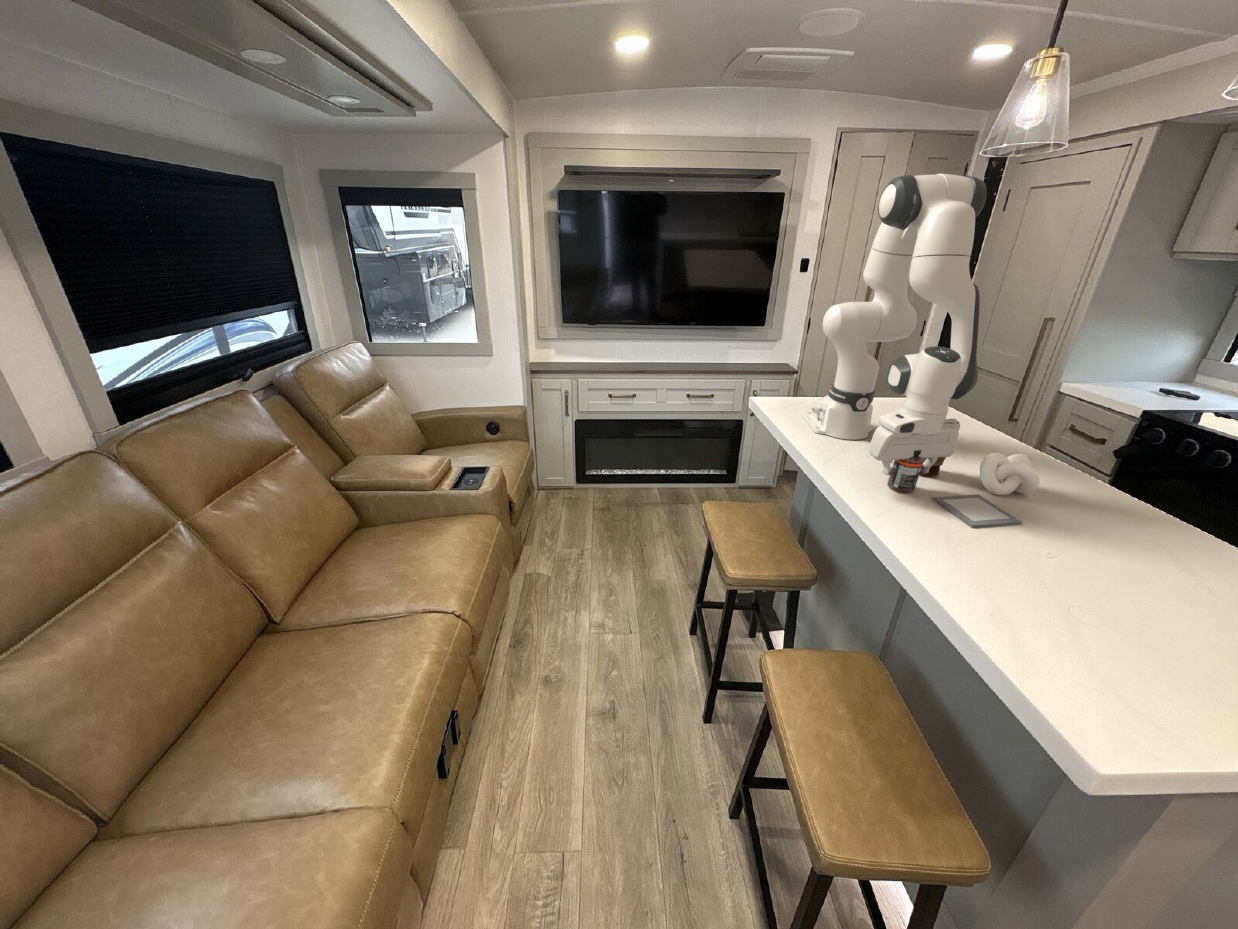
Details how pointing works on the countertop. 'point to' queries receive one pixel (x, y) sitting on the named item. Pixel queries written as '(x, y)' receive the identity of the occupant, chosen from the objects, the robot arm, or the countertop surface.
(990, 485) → the white decorative knot
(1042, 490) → the countertop surface
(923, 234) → the robot arm
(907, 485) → the supplement bottle
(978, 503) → the coaster
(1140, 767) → the countertop surface
